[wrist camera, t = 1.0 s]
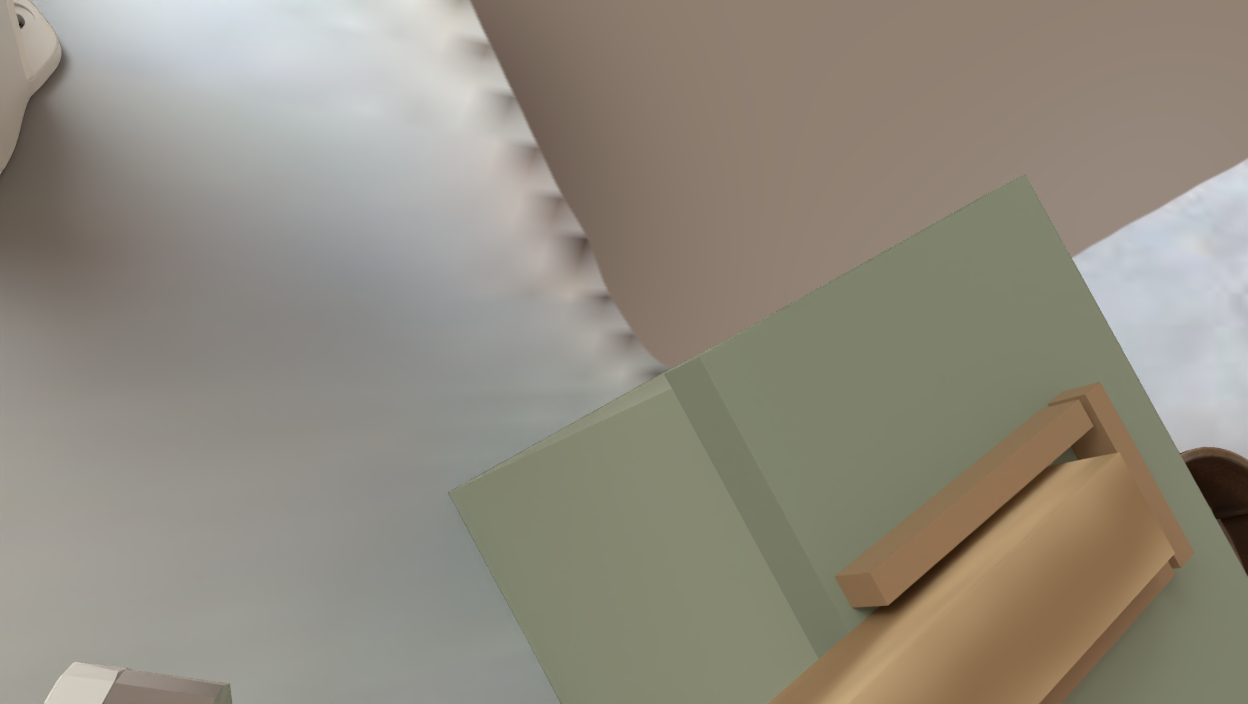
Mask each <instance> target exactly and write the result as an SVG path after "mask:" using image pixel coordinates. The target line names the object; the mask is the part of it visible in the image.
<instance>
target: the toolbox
mask: <svg viewBox="0 0 1248 704" xmlns="http://www.w3.org/2000/svg"><path fill="white" fill-rule="evenodd" d="M1118 452H1120V454H1121V456H1122V458H1123V460H1124V461H1125V463H1126V465H1127V467H1128V469H1129V471H1130V472H1131V474H1132V476H1133V478H1134V480H1135V481H1136V483H1137V485H1138V487H1139V489H1140V491H1141V492H1142V494H1143V496H1144V498H1145V500H1146V501H1147V503H1148V505H1149V507H1150V509H1151V510H1152V512H1153V514H1154V516H1155V518H1156V520H1157V521H1158V523H1159V525H1160V527H1161V529H1162V530H1163V532H1164V534H1165V536H1166V538H1167V539H1168V541H1169V543H1170V545H1171V547H1172V549H1173V550H1174V552H1175V554H1174V555H1173V556H1172V557H1171V558H1170V559H1169V560H1168V562H1167V563H1166V564H1165V565H1164V566H1163V567H1162V568H1161V569H1160V570H1159V572H1158V573H1157V574H1156V575H1155V576H1154V577H1153V578H1152V579H1151V580H1150V581H1149V583H1148V584H1147V585H1146V586H1145V587H1144V588H1143V589H1142V590H1141V591H1140V593H1139V594H1138V595H1137V596H1136V597H1135V598H1134V599H1133V600H1132V601H1131V602H1130V604H1129V605H1128V606H1127V607H1126V608H1125V609H1124V610H1123V611H1122V612H1121V614H1120V615H1119V616H1118V617H1117V618H1116V619H1115V620H1114V621H1113V622H1112V624H1111V625H1110V626H1109V627H1108V628H1107V629H1106V630H1105V631H1104V632H1103V633H1102V635H1101V636H1100V637H1099V638H1098V639H1097V640H1096V641H1095V642H1094V643H1093V645H1092V646H1091V647H1090V648H1089V649H1088V650H1087V651H1086V652H1085V653H1084V654H1083V656H1082V657H1081V658H1080V659H1079V660H1078V661H1077V662H1076V663H1075V664H1074V666H1073V667H1072V668H1071V669H1070V670H1069V671H1068V672H1067V673H1066V674H1065V676H1064V677H1063V678H1062V679H1061V680H1060V681H1059V682H1058V683H1057V684H1056V685H1055V687H1054V688H1053V689H1052V690H1051V691H1050V692H1049V693H1048V694H1047V695H1046V697H1045V698H1044V699H1043V700H1042V701H1041V702H1040V703H1039V704H1248V576H1247V574H1246V573H1245V571H1244V569H1243V567H1242V565H1241V564H1240V562H1239V560H1238V558H1237V556H1236V555H1235V553H1234V551H1233V549H1232V547H1231V545H1230V544H1229V542H1228V540H1227V538H1226V536H1225V535H1224V533H1223V531H1222V529H1221V527H1220V526H1219V524H1218V522H1217V520H1216V518H1215V517H1214V515H1213V513H1212V511H1211V509H1210V507H1209V506H1208V504H1207V502H1206V500H1205V498H1204V497H1203V495H1202V493H1201V491H1200V489H1199V488H1198V486H1197V484H1196V482H1195V480H1194V479H1193V477H1192V475H1191V473H1190V471H1189V469H1188V468H1187V466H1186V464H1185V462H1184V460H1183V459H1182V457H1181V455H1180V453H1179V451H1178V450H1177V448H1176V446H1175V444H1174V442H1173V441H1172V439H1171V437H1170V435H1169V433H1168V431H1167V430H1166V428H1165V426H1164V424H1163V422H1162V421H1161V419H1160V417H1159V415H1158V413H1157V412H1156V410H1155V408H1154V406H1153V404H1152V403H1151V401H1150V399H1149V397H1148V395H1147V393H1146V392H1145V390H1144V388H1143V386H1142V384H1141V383H1140V381H1139V379H1138V377H1137V375H1136V374H1135V372H1134V370H1133V368H1132V366H1131V365H1130V363H1129V361H1128V359H1127V357H1126V355H1125V354H1124V352H1123V350H1122V348H1121V346H1120V345H1119V343H1118V341H1117V339H1116V337H1115V336H1114V334H1113V332H1112V330H1111V328H1110V327H1109V325H1108V323H1107V321H1106V319H1105V317H1104V316H1103V314H1102V312H1101V310H1100V308H1099V307H1098V305H1097V303H1096V301H1095V299H1094V298H1093V296H1092V294H1091V292H1090V290H1089V289H1088V287H1087V285H1086V283H1085V281H1084V279H1083V278H1082V276H1081V274H1080V272H1079V270H1078V269H1077V267H1076V265H1075V263H1074V261H1073V260H1072V258H1071V256H1070V254H1069V253H1068V251H1067V249H1066V247H1065V245H1064V243H1063V241H1062V240H1061V238H1060V236H1059V234H1058V233H1057V231H1056V229H1055V227H1054V225H1053V224H1052V222H1051V220H1050V218H1049V216H1048V215H1047V213H1046V211H1045V209H1044V207H1043V205H1042V204H1041V202H1040V200H1039V198H1038V196H1037V194H1036V193H1035V191H1034V189H1033V188H1032V185H1031V184H1030V182H1029V180H1028V178H1027V177H1026V175H1023V176H1021V177H1019V178H1017V179H1015V180H1013V181H1011V182H1009V183H1007V184H1006V185H1004V186H1002V187H1000V188H998V189H996V190H994V191H992V192H990V193H988V194H986V195H984V196H983V197H981V198H979V199H977V200H976V201H974V202H972V203H970V204H968V205H967V206H965V207H963V208H961V209H959V210H958V211H956V212H954V213H952V214H950V215H949V216H947V217H945V218H943V219H941V220H940V221H938V222H936V223H934V224H933V225H931V226H929V227H927V228H925V229H924V230H922V231H920V232H918V233H916V234H915V235H913V236H911V237H909V238H907V239H906V240H904V241H902V242H900V243H898V244H897V245H895V246H893V247H891V248H890V249H888V250H886V251H884V252H882V253H881V254H879V255H877V256H875V257H874V258H872V259H870V260H868V261H866V262H864V263H863V264H861V265H859V266H857V267H856V268H854V269H852V270H850V271H849V272H847V273H845V274H843V275H841V276H840V277H838V278H836V279H834V280H833V281H831V282H829V283H827V284H825V285H823V286H822V287H820V288H818V289H816V290H814V291H813V292H811V293H809V294H807V295H805V296H804V297H802V298H800V299H798V300H797V301H795V302H793V303H791V304H789V305H788V306H786V307H784V308H782V309H781V310H779V311H777V312H775V313H773V314H772V315H770V316H768V317H766V318H764V319H762V320H761V321H759V322H757V323H755V324H754V325H752V326H750V327H748V328H746V329H745V330H743V331H741V332H739V333H738V334H736V335H734V336H732V337H730V338H729V339H727V340H725V341H723V342H721V343H720V344H718V345H716V346H714V347H712V348H710V349H708V350H706V351H704V352H702V353H700V354H698V355H696V356H695V357H692V358H690V359H688V360H686V361H684V362H682V363H680V364H678V365H677V366H675V367H673V368H671V369H669V370H667V371H666V372H664V373H662V374H660V375H658V376H657V377H655V378H653V379H651V380H649V381H648V382H646V383H644V384H642V385H640V386H639V387H637V388H635V389H633V390H632V391H630V392H628V393H626V394H624V395H623V396H621V397H619V398H617V399H615V400H614V401H612V402H610V403H608V404H606V405H605V406H603V407H601V408H599V409H597V410H596V411H594V412H592V413H590V414H588V415H587V416H585V417H583V418H581V419H579V420H578V421H576V422H574V423H572V424H571V425H569V426H567V427H565V428H563V429H562V430H560V431H558V432H556V433H554V434H553V435H551V436H549V437H547V438H545V439H544V440H542V441H540V442H538V443H536V444H535V445H533V446H531V447H529V448H527V449H526V450H524V451H522V452H520V453H518V454H517V455H515V456H513V457H511V458H509V459H508V460H506V461H504V462H502V463H501V464H499V465H497V466H495V467H493V468H492V469H490V470H488V471H486V472H484V473H483V474H481V475H479V476H477V477H475V478H474V479H472V480H470V481H468V482H466V483H465V484H463V485H461V486H459V487H457V488H456V489H454V490H452V491H450V492H448V493H449V495H450V497H451V498H452V500H453V502H454V504H455V506H456V508H457V510H458V511H459V513H460V515H461V517H462V519H463V521H464V523H465V525H466V526H467V528H468V530H469V532H470V534H471V536H472V538H473V539H474V541H475V543H476V545H477V547H478V549H479V551H480V553H481V554H482V556H483V558H484V560H485V562H486V564H487V566H488V567H489V569H490V571H491V573H492V575H493V577H494V579H495V581H496V582H497V584H498V586H499V588H500V590H501V592H502V594H503V595H504V597H505V599H506V601H507V603H508V605H509V607H510V608H511V610H512V612H513V614H514V616H515V618H516V620H517V622H518V623H519V625H520V627H521V629H522V631H523V633H524V635H525V636H526V638H527V640H528V642H529V644H530V646H531V648H532V650H533V651H534V653H535V655H536V657H537V659H538V661H539V663H540V664H541V666H542V668H543V670H544V672H545V674H546V676H547V678H548V679H549V681H550V683H551V685H552V687H553V689H554V691H555V692H556V694H557V696H558V698H559V700H560V702H561V704H768V703H769V702H770V701H771V700H772V699H773V698H775V697H776V696H777V695H778V694H779V693H780V692H781V691H783V690H784V689H785V688H786V687H787V686H788V685H790V684H791V683H792V682H793V681H794V680H795V679H796V678H798V677H799V676H800V675H801V674H802V673H803V672H805V671H806V670H807V669H808V668H809V667H810V666H811V665H813V664H814V663H815V662H816V661H817V660H818V659H820V658H821V657H822V656H823V655H824V654H825V653H826V652H828V651H829V650H830V649H831V648H832V647H833V646H835V645H836V644H837V643H838V642H839V641H840V640H841V639H843V638H844V637H845V636H846V635H847V634H848V633H850V632H851V631H852V630H853V629H854V628H855V627H856V626H858V625H859V624H860V623H861V622H862V621H863V620H865V619H866V618H867V617H868V616H869V615H870V614H871V613H873V612H874V611H875V610H876V609H877V608H878V607H880V606H888V605H889V604H890V603H892V602H893V601H894V600H895V599H896V598H897V597H898V596H900V595H901V594H902V593H903V592H904V591H905V590H906V589H908V588H909V587H910V586H911V585H912V584H913V583H914V582H916V581H917V580H918V579H919V578H920V577H921V576H922V575H924V574H925V573H926V572H927V571H928V570H929V569H930V568H932V567H933V566H934V565H935V564H936V563H937V562H939V561H940V560H941V559H942V558H943V557H944V556H945V555H947V554H948V553H949V552H950V551H951V550H952V549H953V548H955V547H956V546H957V545H958V544H959V543H960V542H961V541H963V540H964V539H965V538H966V537H967V536H968V535H969V534H971V533H972V532H973V531H974V530H975V529H976V528H977V527H979V526H980V525H981V524H982V523H983V522H984V521H985V520H987V519H988V518H989V517H990V516H991V515H992V514H994V513H995V512H996V511H997V510H998V509H999V508H1000V507H1002V506H1003V505H1004V504H1005V503H1006V502H1007V501H1008V500H1010V499H1011V498H1012V497H1013V496H1014V495H1015V494H1016V493H1018V492H1019V491H1020V490H1021V489H1022V488H1023V487H1024V486H1026V485H1027V484H1028V483H1029V482H1030V481H1031V480H1032V479H1034V478H1035V477H1036V476H1037V475H1038V474H1039V473H1040V472H1042V471H1043V470H1044V469H1045V468H1046V467H1047V466H1052V465H1057V464H1062V463H1067V462H1072V461H1077V460H1082V459H1088V458H1093V457H1098V456H1103V455H1108V454H1113V453H1118Z"/></svg>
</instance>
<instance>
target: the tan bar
mask: <svg viewBox="0 0 1248 704" xmlns="http://www.w3.org/2000/svg"><path fill="white" fill-rule="evenodd" d="M1174 554H1175V552H1174V550H1173V549H1172V547H1171V545H1170V543H1169V541H1168V539H1167V538H1166V536H1165V534H1164V532H1163V530H1162V529H1161V527H1160V525H1159V523H1158V521H1157V520H1156V518H1155V516H1154V514H1153V512H1152V510H1151V509H1150V507H1149V505H1148V503H1147V501H1146V500H1145V498H1144V496H1143V494H1142V492H1141V491H1140V489H1139V487H1138V485H1137V483H1136V481H1135V480H1134V478H1133V476H1132V474H1131V472H1130V471H1129V469H1128V467H1127V465H1126V463H1125V461H1124V460H1123V458H1122V456H1121V454H1120V452H1118V453H1113V454H1108V455H1103V456H1098V457H1093V458H1088V459H1082V460H1077V461H1072V462H1067V463H1062V464H1057V465H1052V466H1047V467H1046V468H1045V469H1044V470H1043V471H1042V472H1040V473H1039V474H1038V475H1037V476H1036V477H1035V478H1034V479H1032V480H1031V481H1030V482H1029V483H1028V484H1027V485H1026V486H1024V487H1023V488H1022V489H1021V490H1020V491H1019V492H1018V493H1016V494H1015V495H1014V496H1013V497H1012V498H1011V499H1010V500H1008V501H1007V502H1006V503H1005V504H1004V505H1003V506H1002V507H1000V508H999V509H998V510H997V511H996V512H995V513H994V514H992V515H991V516H990V517H989V518H988V519H987V520H985V521H984V522H983V523H982V524H981V525H980V526H979V527H977V528H976V529H975V530H974V531H973V532H972V533H971V534H969V535H968V536H967V537H966V538H965V539H964V540H963V541H961V542H960V543H959V544H958V545H957V546H956V547H955V548H953V549H952V550H951V551H950V552H949V553H948V554H947V555H945V556H944V557H943V558H942V559H941V560H940V561H939V562H937V563H936V564H935V565H934V566H933V567H932V568H930V569H929V570H928V571H927V572H926V573H925V574H924V575H922V576H921V577H920V578H919V579H918V580H917V581H916V582H914V583H913V584H912V585H911V586H910V587H909V588H908V589H906V590H905V591H904V592H903V593H902V594H901V595H900V596H898V597H897V598H896V599H895V600H894V601H893V602H892V603H890V604H889V605H888V606H880V607H878V608H877V609H876V610H875V611H874V612H873V613H871V614H870V615H869V616H868V617H867V618H866V619H865V620H863V621H862V622H861V623H860V624H859V625H858V626H856V627H855V628H854V629H853V630H852V631H851V632H850V633H848V634H847V635H846V636H845V637H844V638H843V639H841V640H840V641H839V642H838V643H837V644H836V645H835V646H833V647H832V648H831V649H830V650H829V651H828V652H826V653H825V654H824V655H823V656H822V657H821V658H820V659H818V660H817V661H816V662H815V663H814V664H813V665H811V666H810V667H809V668H808V669H807V670H806V671H805V672H803V673H802V674H801V675H800V676H799V677H798V678H796V679H795V680H794V681H793V682H792V683H791V684H790V685H788V686H787V687H786V688H785V689H784V690H783V691H781V692H780V693H779V694H778V695H777V696H776V697H775V698H773V699H772V700H771V701H770V702H769V703H768V704H1039V703H1040V702H1041V701H1042V700H1043V699H1044V698H1045V697H1046V695H1047V694H1048V693H1049V692H1050V691H1051V690H1052V689H1053V688H1054V687H1055V685H1056V684H1057V683H1058V682H1059V681H1060V680H1061V679H1062V678H1063V677H1064V676H1065V674H1066V673H1067V672H1068V671H1069V670H1070V669H1071V668H1072V667H1073V666H1074V664H1075V663H1076V662H1077V661H1078V660H1079V659H1080V658H1081V657H1082V656H1083V654H1084V653H1085V652H1086V651H1087V650H1088V649H1089V648H1090V647H1091V646H1092V645H1093V643H1094V642H1095V641H1096V640H1097V639H1098V638H1099V637H1100V636H1101V635H1102V633H1103V632H1104V631H1105V630H1106V629H1107V628H1108V627H1109V626H1110V625H1111V624H1112V622H1113V621H1114V620H1115V619H1116V618H1117V617H1118V616H1119V615H1120V614H1121V612H1122V611H1123V610H1124V609H1125V608H1126V607H1127V606H1128V605H1129V604H1130V602H1131V601H1132V600H1133V599H1134V598H1135V597H1136V596H1137V595H1138V594H1139V593H1140V591H1141V590H1142V589H1143V588H1144V587H1145V586H1146V585H1147V584H1148V583H1149V581H1150V580H1151V579H1152V578H1153V577H1154V576H1155V575H1156V574H1157V573H1158V572H1159V570H1160V569H1161V568H1162V567H1163V566H1164V565H1165V564H1166V563H1167V562H1168V560H1169V559H1170V558H1171V557H1172V556H1173V555H1174Z"/></svg>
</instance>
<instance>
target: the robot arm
mask: <svg viewBox="0 0 1248 704" xmlns="http://www.w3.org/2000/svg"><path fill="white" fill-rule="evenodd" d="M18 22H19V23H21V24H23V25H24V26H23V27H22V28H21V29H20V27H19V23H18ZM61 56H62V51H61V47H60V44H59V40H58V37H57V35H56V33H55V32H54V30H53V29H52V27H51V26H50V25H49V24H48V22H47V21H46V20H45V19H44V17H43V16H42V15H41V14H40V13H39V11H38V10H37V9H36V8H35V6H34V5H33V4H32V3H31V2H30V0H0V174H1V173H2V171H3V170H4V168H5V167H6V165H7V163H8V161H9V159H10V158H11V156H12V153H13V151H14V149H15V146H16V143H17V140H18V137H19V133H20V128H21V124H22V120H23V116H24V112H25V109H26V106H27V103H28V101H29V99H30V97H31V96H32V95H33V94H34V93H35V92H36V91H37V90H38V89H39V88H40V87H41V86H42V85H43V83H44V82H45V81H46V80H47V79H48V78H49V77H50V76H51V74H52V73H53V72H54V71H55V69H56V68H57V66H58V64H59V62H60V60H61ZM44 704H232V698H231V689H230V684H229V683H222V682H214V681H207V680H200V679H193V678H186V677H178V676H171V675H164V674H157V673H150V672H142V671H135V670H131V669H128V668H121V667H113V666H105V665H97V664H90V663H82V662H74V663H73V664H72V665H71V666H70V667H69V668H68V669H67V670H66V671H65V672H64V673H63V674H62V675H61V676H60V677H59V678H58V680H57V682H56V683H55V685H54V687H53V688H52V690H51V692H50V693H49V695H48V697H47V698H46V700H45V702H44Z"/></svg>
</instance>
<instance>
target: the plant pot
mask: <svg viewBox="0 0 1248 704" xmlns="http://www.w3.org/2000/svg"><path fill="white" fill-rule="evenodd" d="M1180 455H1181V457H1182V459H1183V460H1184V462H1185V464H1186V466H1187V468H1188V469H1189V471H1190V473H1191V475H1192V477H1193V479H1194V480H1195V482H1196V484H1197V486H1198V488H1199V489H1200V491H1201V493H1202V495H1203V497H1204V498H1205V500H1206V502H1207V504H1208V506H1209V507H1210V509H1211V511H1212V513H1213V515H1214V517H1215V518H1216V520H1217V522H1218V524H1219V526H1220V527H1221V529H1222V531H1223V533H1224V535H1225V536H1226V538H1227V540H1228V542H1229V544H1230V545H1231V547H1232V549H1233V551H1234V553H1235V555H1236V556H1237V558H1238V560H1239V562H1240V564H1241V565H1242V567H1243V569H1244V571H1245V573H1246V574H1247V576H1248V460H1247V459H1245V458H1244V457H1242V456H1240V455H1238V454H1236V453H1233V452H1231V451H1228V450H1225V449H1221V448H1215V447H1201V448H1196V449H1192V450H1188V451H1185V452H1182V453H1180Z"/></svg>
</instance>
